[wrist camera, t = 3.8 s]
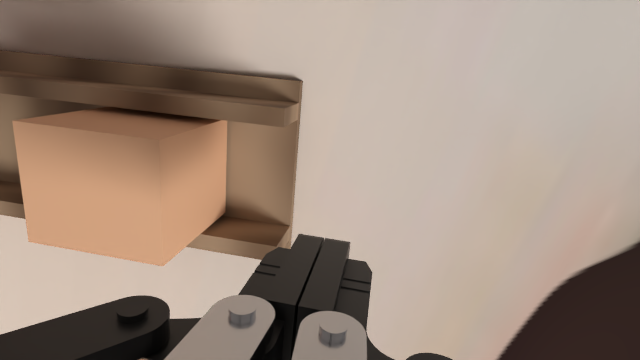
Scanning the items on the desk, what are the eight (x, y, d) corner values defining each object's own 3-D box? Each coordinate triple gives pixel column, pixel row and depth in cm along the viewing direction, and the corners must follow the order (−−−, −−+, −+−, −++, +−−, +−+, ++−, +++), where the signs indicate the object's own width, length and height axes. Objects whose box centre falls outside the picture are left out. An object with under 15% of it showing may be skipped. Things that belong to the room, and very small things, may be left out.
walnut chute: (302, 81, 19) (267, 87, 14) (290, 252, 22) (257, 311, 17) (-121, 38, 23) (-271, 30, 18) (-88, 189, 26) (-210, 220, 21)
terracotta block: (227, 118, 20) (159, 140, 14) (225, 212, 21) (162, 266, 16) (117, 104, 21) (11, 120, 15) (122, 196, 22) (28, 241, 17)
